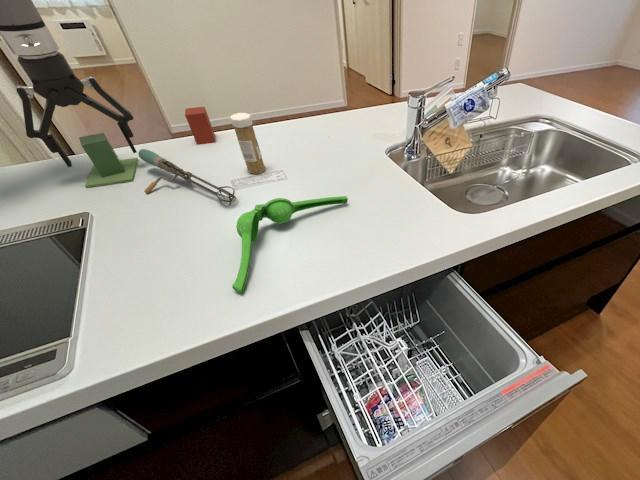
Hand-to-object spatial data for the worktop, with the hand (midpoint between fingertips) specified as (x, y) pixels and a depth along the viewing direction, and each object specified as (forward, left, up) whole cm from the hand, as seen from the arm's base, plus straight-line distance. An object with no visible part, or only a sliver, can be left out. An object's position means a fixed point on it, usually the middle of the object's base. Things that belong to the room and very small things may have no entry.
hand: (103, 157), depth 85 cm
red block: (-13, +22, -4) cm, 26 cm away
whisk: (+15, +16, -4) cm, 23 cm away
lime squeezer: (+40, +36, -4) cm, 54 cm away
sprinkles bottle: (+10, +34, -4) cm, 36 cm away
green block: (0, 0, -3) cm, 3 cm away
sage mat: (0, 0, -4) cm, 4 cm away
